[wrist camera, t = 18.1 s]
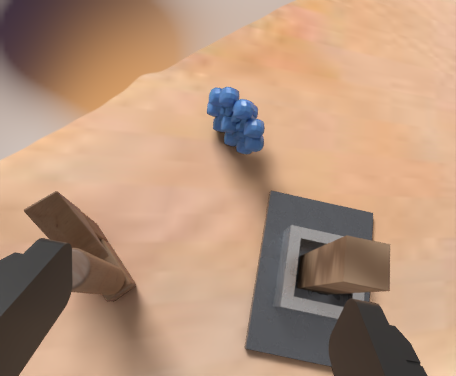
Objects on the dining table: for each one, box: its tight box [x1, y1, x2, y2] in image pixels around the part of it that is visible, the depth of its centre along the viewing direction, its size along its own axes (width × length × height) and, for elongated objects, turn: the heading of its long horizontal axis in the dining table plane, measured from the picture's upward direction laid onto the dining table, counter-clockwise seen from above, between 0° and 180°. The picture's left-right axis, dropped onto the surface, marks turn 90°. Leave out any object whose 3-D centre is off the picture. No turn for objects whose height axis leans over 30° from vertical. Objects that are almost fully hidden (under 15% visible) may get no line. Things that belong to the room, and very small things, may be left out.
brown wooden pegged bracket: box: [24, 191, 136, 301], centre depth 36 cm, size 4×11×18 cm, turn 37°
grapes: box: [207, 87, 265, 154], centre depth 47 cm, size 12×7×12 cm, turn 38°
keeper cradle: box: [245, 191, 373, 367], centre depth 44 cm, size 22×16×5 cm
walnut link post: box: [297, 235, 390, 295], centre depth 39 cm, size 4×4×15 cm
